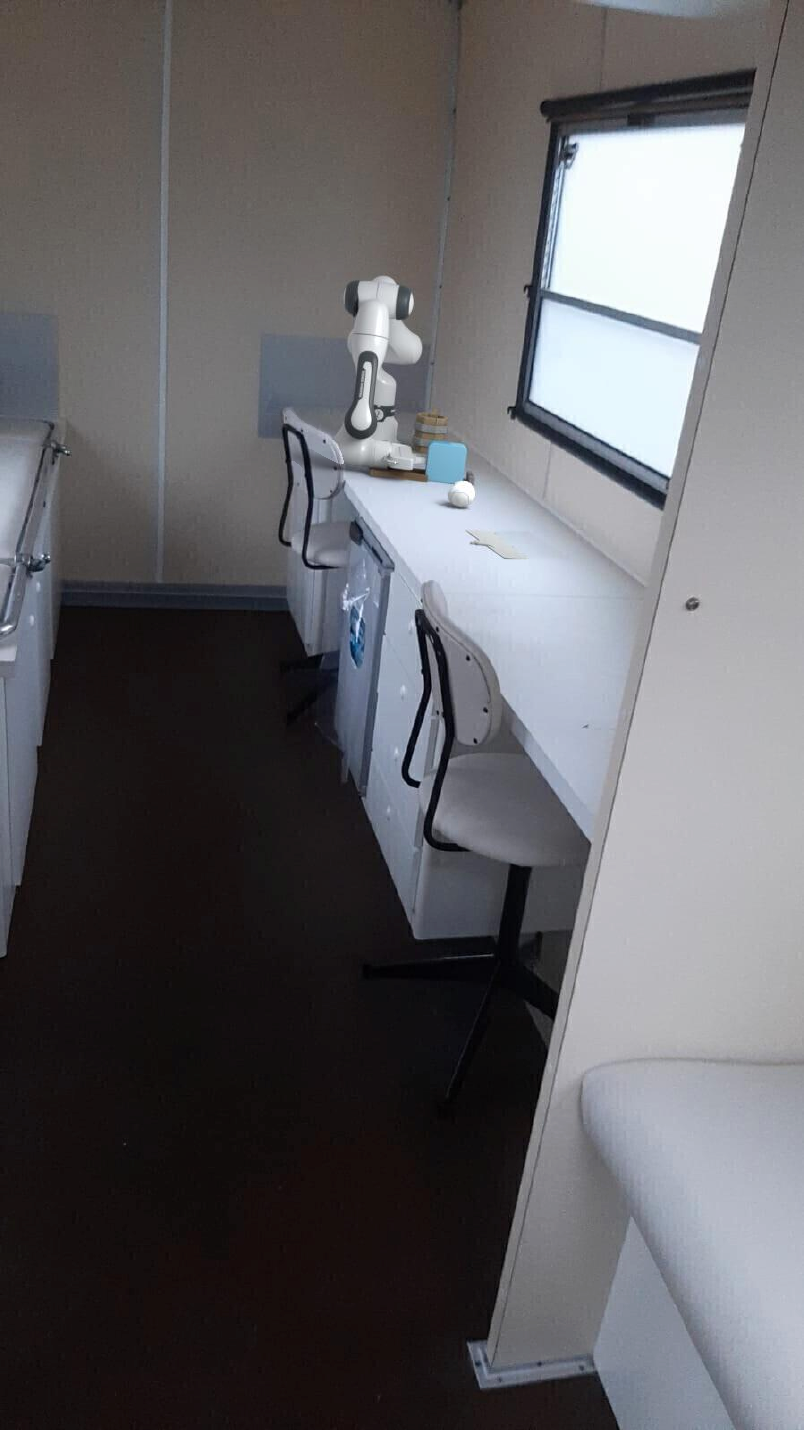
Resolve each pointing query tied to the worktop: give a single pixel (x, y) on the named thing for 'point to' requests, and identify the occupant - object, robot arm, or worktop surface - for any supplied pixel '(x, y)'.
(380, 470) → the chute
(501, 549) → the white flat panel
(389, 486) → the worktop surface
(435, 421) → the tankard
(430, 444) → the data package
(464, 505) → the white ball
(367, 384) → the robot arm
